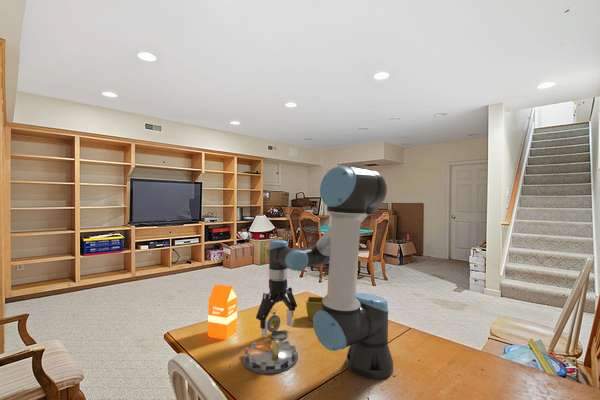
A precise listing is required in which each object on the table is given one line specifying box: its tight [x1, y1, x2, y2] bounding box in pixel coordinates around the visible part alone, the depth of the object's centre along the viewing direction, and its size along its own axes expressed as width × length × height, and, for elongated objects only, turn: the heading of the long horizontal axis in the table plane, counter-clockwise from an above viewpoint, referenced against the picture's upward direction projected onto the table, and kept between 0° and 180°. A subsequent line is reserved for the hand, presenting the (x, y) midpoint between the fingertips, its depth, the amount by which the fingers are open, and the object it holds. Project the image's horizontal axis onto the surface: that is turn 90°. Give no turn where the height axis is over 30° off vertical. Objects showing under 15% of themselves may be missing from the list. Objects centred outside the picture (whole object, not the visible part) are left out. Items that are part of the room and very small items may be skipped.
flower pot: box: [305, 296, 325, 322], centre depth 134 cm, size 9×9×9 cm
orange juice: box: [207, 283, 238, 341], centre depth 118 cm, size 8×9×20 cm
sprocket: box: [243, 338, 298, 370], centre depth 100 cm, size 18×18×8 cm
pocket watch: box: [267, 308, 289, 341], centre depth 116 cm, size 8×8×10 cm
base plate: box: [242, 353, 299, 375], centre depth 99 cm, size 19×19×1 cm
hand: (277, 330), depth 117 cm, fingers open, 13 cm apart
